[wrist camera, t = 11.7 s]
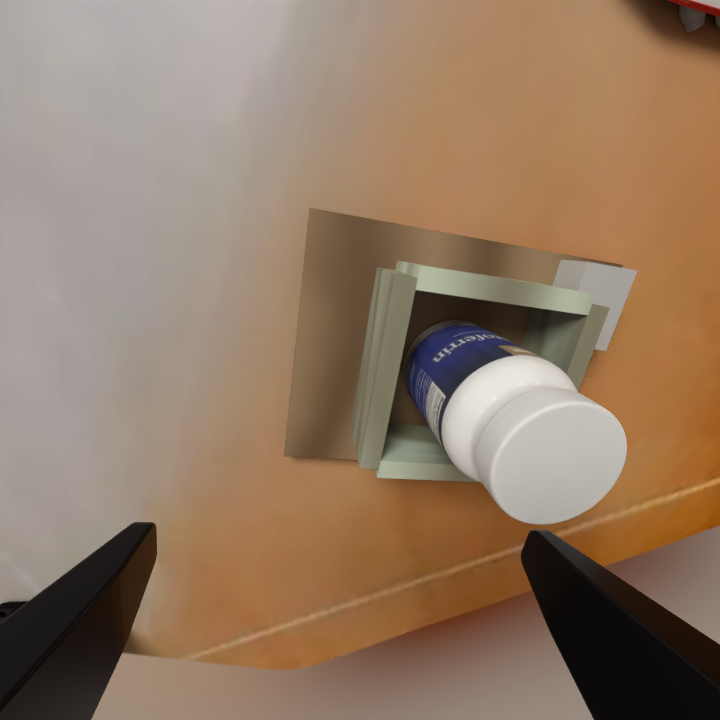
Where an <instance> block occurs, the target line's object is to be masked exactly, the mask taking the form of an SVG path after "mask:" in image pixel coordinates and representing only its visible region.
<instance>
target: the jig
mask: <svg viewBox="0 0 720 720" xmlns="http://www.w3.org/2000/svg"><path fill="white" fill-rule="evenodd" d="M561 260H572V261H585V262H592V263H598V264H604V265H609V266H615V267H620V268H622V267H623V265H620V264H614V263H609V262H603V261H598V260H592V259H587V258H581V257H576V256H570V255H565V254H559V253H554V252H548V251H543V250H537V249H532V248H527V247H521V246H516V245H510V244H505V243H499V242H494V241H488V240H483V239H477V238H472V237H466V236H461V235H455V234H450V233H444V232H439V231H433V230H428V229H422V228H417V227H411V226H406V225H400V224H395V223H389V222H384V221H379V220H373V219H368V218H362V217H357V216H351V215H346V214H340V213H335V212H329V211H324V210H318V209H313V208H310V211H309V220H308V230H307V240H306V249H305V259H304V269H303V278H302V288H301V298H300V307H299V317H298V327H297V336H296V346H295V355H294V365H293V375H292V384H291V394H290V404H289V413H288V423H287V433H286V442H285V452H284V456H291V457H310V458H329V459H348V460H358V464H359V469H375V472H376V475H377V478H393V479H416V480H440V481H463V482H479V481H476V480H474V479H472V478H470V477H468V476H467V475H465V474H464V473H463V472H461V471H460V470H459V469H458V468H457V467H456V466H455V465H454V463H453V462H452V461H451V460H450V458H449V457H448V455H447V454H446V452H445V451H444V449H443V447H442V446H441V444H440V443H439V441H438V440H437V438H436V436H435V435H434V433H433V432H432V430H431V428H430V427H429V425H428V424H427V422H426V420H425V419H424V417H423V416H422V414H421V413H420V411H419V409H418V408H417V406H416V405H415V403H414V401H413V400H412V398H411V396H410V395H409V393H408V391H407V388H406V386H405V382H404V376H403V368H404V362H405V358H406V355H407V353H408V350H409V348H410V347H411V345H412V343H413V342H414V341H415V340H416V338H417V337H418V336H419V335H420V334H422V333H423V332H424V331H425V330H427V329H428V328H430V327H432V326H434V325H436V324H439V323H442V322H445V321H450V320H461V321H467V322H470V323H473V324H476V325H478V326H480V327H482V328H484V329H486V330H489V331H491V332H493V333H494V334H496V335H498V336H500V337H502V338H504V339H506V340H509V341H511V342H512V343H514V344H516V345H518V346H520V347H522V348H524V349H526V350H528V351H530V352H532V353H534V354H536V355H538V356H540V357H542V358H544V359H546V360H547V361H549V362H551V363H553V364H554V365H556V366H557V367H559V368H560V369H561V370H562V371H564V372H565V373H566V374H567V376H568V377H569V378H570V379H571V381H572V382H573V384H574V385H575V387H576V389H577V391H579V388H580V386H581V383H582V380H583V378H584V375H585V372H586V370H587V367H588V365H589V362H590V359H591V357H592V354H593V351H594V349H595V346H596V344H597V341H598V338H599V336H600V333H601V330H602V328H603V325H604V322H605V320H606V317H607V315H608V312H609V309H610V308H609V307H605V306H600V305H596V304H592V303H593V300H594V298H595V295H596V294H593V293H587V292H582V291H577V290H571V289H566V288H560V287H555V286H553V282H554V279H555V276H556V273H557V270H558V267H559V264H560V261H561Z"/></svg>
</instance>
